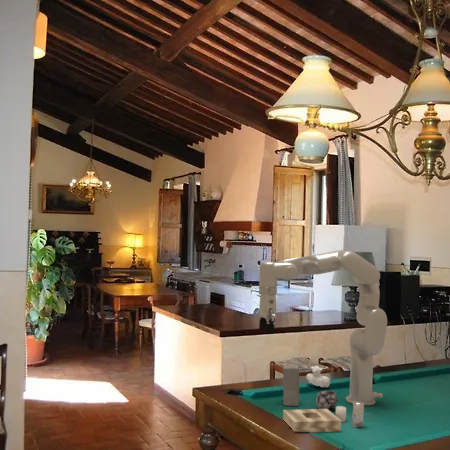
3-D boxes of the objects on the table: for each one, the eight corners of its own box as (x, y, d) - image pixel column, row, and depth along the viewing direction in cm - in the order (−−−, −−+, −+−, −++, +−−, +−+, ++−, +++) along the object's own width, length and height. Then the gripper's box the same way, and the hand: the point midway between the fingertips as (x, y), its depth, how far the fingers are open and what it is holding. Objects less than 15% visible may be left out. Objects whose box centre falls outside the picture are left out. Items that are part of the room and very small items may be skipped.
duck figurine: (305, 389, 278) (299, 373, 272) (311, 377, 283) (305, 361, 277) (328, 394, 271) (322, 377, 266) (334, 381, 276) (328, 365, 270)
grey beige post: (360, 424, 223) (361, 400, 223) (364, 427, 219) (365, 403, 219) (350, 424, 222) (351, 401, 223) (355, 428, 219) (355, 404, 219)
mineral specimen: (322, 407, 231) (326, 383, 236) (306, 409, 238) (310, 386, 243) (343, 418, 236) (346, 394, 241) (326, 420, 242) (330, 397, 248)
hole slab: (326, 418, 228) (327, 408, 228) (340, 431, 214) (341, 420, 214) (282, 420, 224) (283, 409, 224) (294, 433, 211) (294, 422, 211)
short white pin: (343, 418, 229) (343, 405, 229) (347, 421, 225) (347, 409, 225) (333, 418, 229) (334, 406, 229) (337, 422, 225) (338, 409, 225)
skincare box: (298, 407, 242) (299, 369, 242) (281, 405, 243) (282, 367, 244) (299, 401, 250) (301, 364, 250) (283, 399, 252) (284, 363, 252)
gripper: (283, 293, 236) (281, 335, 236) (269, 288, 253) (268, 328, 253) (265, 293, 235) (264, 335, 234) (253, 288, 251) (252, 328, 251)
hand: (266, 331), depth 244 cm, fingers open, 9 cm apart
